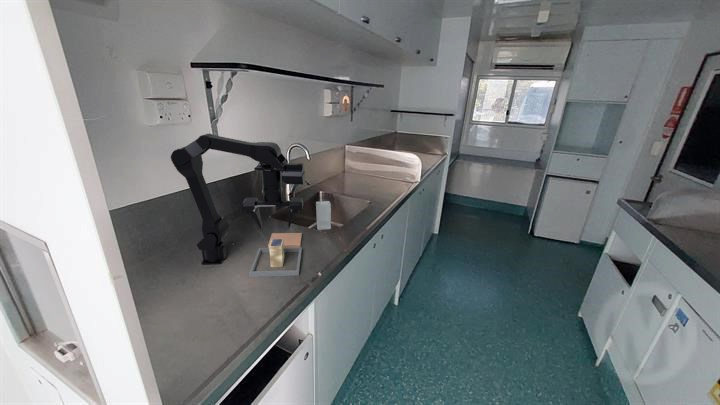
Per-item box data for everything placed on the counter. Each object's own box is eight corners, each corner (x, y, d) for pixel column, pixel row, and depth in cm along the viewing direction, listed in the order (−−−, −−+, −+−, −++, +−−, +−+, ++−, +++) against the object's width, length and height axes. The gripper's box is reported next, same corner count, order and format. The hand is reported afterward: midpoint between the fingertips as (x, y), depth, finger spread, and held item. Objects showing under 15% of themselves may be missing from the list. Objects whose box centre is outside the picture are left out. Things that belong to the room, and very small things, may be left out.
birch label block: (270, 267, 98) (269, 246, 95) (273, 259, 103) (271, 238, 100) (282, 266, 99) (281, 245, 96) (284, 258, 104) (283, 238, 101)
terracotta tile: (268, 248, 110) (267, 245, 109) (272, 235, 119) (272, 233, 118) (300, 247, 111) (300, 245, 111) (301, 235, 120) (301, 232, 120)
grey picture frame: (249, 276, 93) (248, 272, 92) (259, 251, 107) (258, 248, 107) (298, 275, 95) (298, 271, 94) (301, 250, 109) (301, 247, 109)
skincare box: (329, 225, 131) (329, 200, 126) (331, 229, 127) (331, 204, 122) (316, 226, 129) (315, 200, 125) (317, 230, 125) (316, 204, 121)
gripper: (302, 176, 100) (304, 217, 106) (246, 176, 98) (251, 218, 103) (301, 186, 90) (303, 231, 96) (238, 186, 87) (244, 232, 93)
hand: (275, 227), depth 97 cm, fingers open, 9 cm apart
